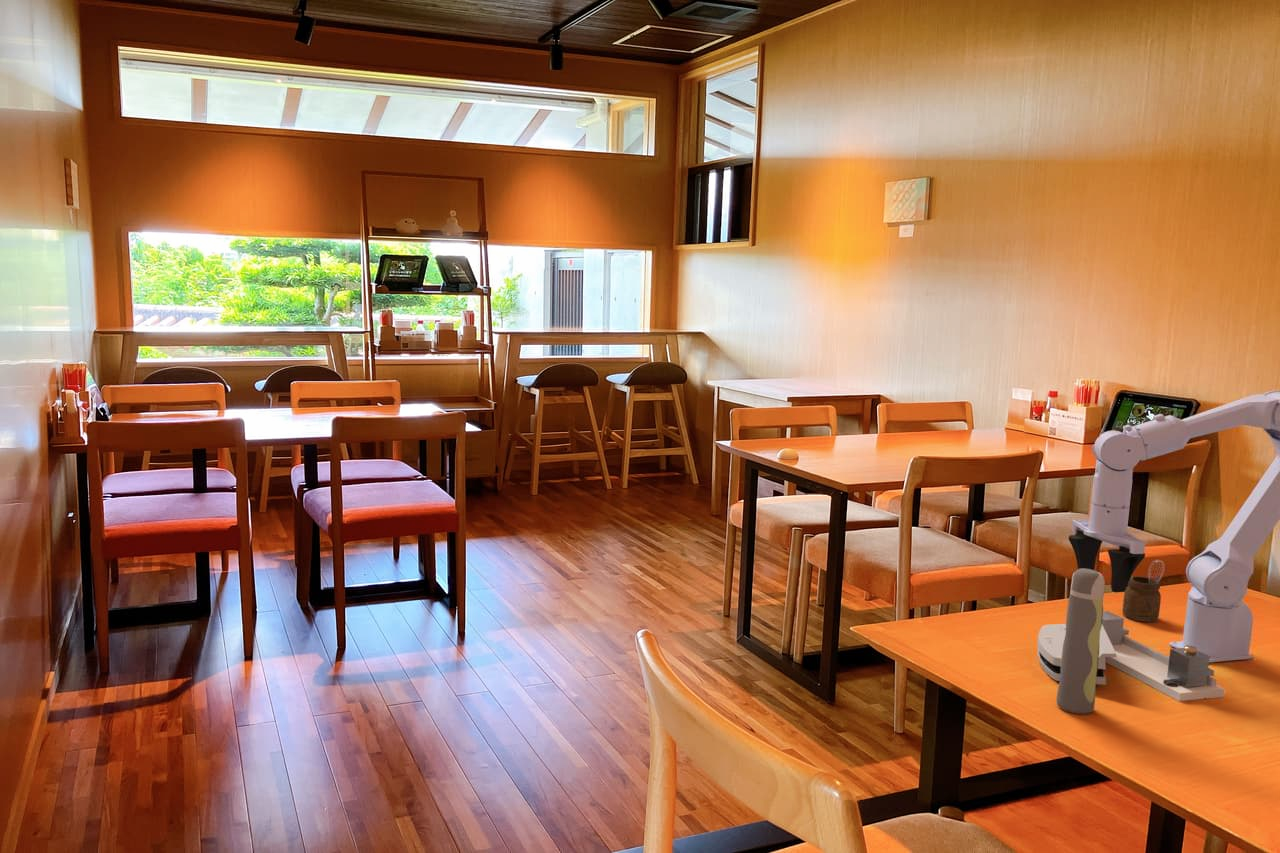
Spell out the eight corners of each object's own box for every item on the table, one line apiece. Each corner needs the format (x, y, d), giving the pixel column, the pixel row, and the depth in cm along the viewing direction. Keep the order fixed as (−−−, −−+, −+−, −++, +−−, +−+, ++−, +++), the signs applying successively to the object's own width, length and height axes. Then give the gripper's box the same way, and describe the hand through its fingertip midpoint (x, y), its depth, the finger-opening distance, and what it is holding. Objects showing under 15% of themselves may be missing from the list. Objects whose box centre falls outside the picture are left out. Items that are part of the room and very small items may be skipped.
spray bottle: (1100, 710, 138) (1115, 572, 135) (1082, 718, 135) (1098, 578, 132) (1066, 698, 142) (1081, 563, 139) (1049, 706, 139) (1063, 569, 136)
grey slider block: (1156, 678, 147) (1160, 644, 146) (1196, 674, 149) (1200, 641, 148) (1175, 688, 143) (1179, 653, 143) (1216, 684, 145) (1220, 650, 144)
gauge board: (1074, 645, 163) (1077, 613, 162) (1114, 642, 165) (1118, 610, 165) (1179, 701, 142) (1183, 664, 142) (1223, 696, 144) (1228, 660, 144)
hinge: (1116, 654, 144) (1042, 653, 147) (1117, 685, 144) (1044, 683, 147) (1098, 616, 160) (1032, 615, 162) (1099, 644, 160) (1033, 643, 163)
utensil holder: (1160, 625, 175) (1168, 559, 173) (1121, 619, 177) (1128, 554, 175) (1156, 615, 180) (1163, 551, 179) (1118, 609, 183) (1125, 546, 181)
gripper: (1059, 495, 168) (1052, 572, 170) (1122, 515, 154) (1113, 599, 156) (1094, 494, 170) (1086, 570, 172) (1159, 514, 156) (1149, 597, 158)
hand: (1101, 584), depth 164 cm, fingers open, 7 cm apart
